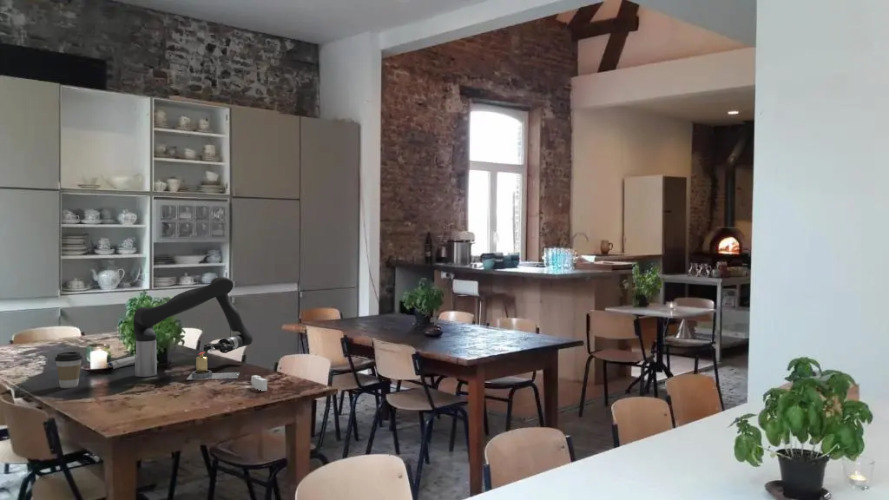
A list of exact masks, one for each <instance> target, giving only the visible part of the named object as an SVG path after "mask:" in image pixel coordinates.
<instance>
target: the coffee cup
mask: <svg viewBox="0 0 889 500" xmlns="http://www.w3.org/2000/svg"><path fill="white" fill-rule="evenodd" d="M82 360H83V355H81V352H79V351H64V352H60V353H57V354H56V356H55V357H54V362H55V364H56V368H57V369H56V370H57V377H58V383H59V386H60V388H61V389H71V388H76V387H78V386H79V379H80V375H81V374H80V373H81V364H82Z"/></svg>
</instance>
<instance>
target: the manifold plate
mask: <svg viewBox="0 0 889 500" xmlns="http://www.w3.org/2000/svg"><path fill="white" fill-rule="evenodd" d="M240 373H241V372H239V371H238V372H236V371H235V372H213V370H209V369H207V373H196V370H194V371H192V372H191V373H190V375H188V377H187V378H186V380H213V379H215V380H217V379H220V380H221V379H238V378H239V375H240Z"/></svg>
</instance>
